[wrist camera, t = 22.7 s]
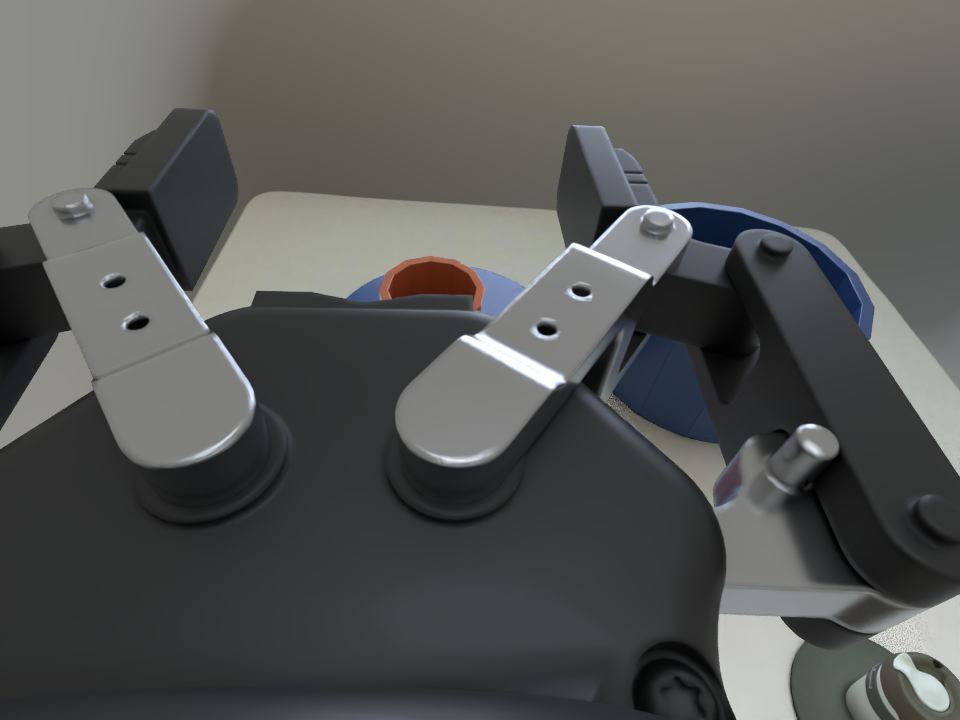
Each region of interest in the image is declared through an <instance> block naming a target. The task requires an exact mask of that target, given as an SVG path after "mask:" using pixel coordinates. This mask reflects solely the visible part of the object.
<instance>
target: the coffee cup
mask: <svg viewBox="0 0 960 720" xmlns="http://www.w3.org/2000/svg"><path fill="white" fill-rule="evenodd" d="M791 692H792V697H793V703H794V707H795V710H796V713H797V716H798V719H799V720H960V682H959V680H958V679H957V678H956V676H955V675H954V674H953V673H952V672H951V671H950V670H949V669H948V668H947V667H946V666H944V665H943V664H942V663H941V662H939V661H938V660H936V659H934V658H932V657H930V656H928V655H925V654H922V653H917V652H905V653H896V654H893V653H891V652H890V651H888V650H887V649H885V648H884V647H882V646H881V645H879V644H877V643H875V642H873V641H871V640H869V639H866V640H864V641H862V642H859V643H857V644H855V645H853V646H851V647H849V648H846V649H844V650H838V651H837V650H826V649H822V648H819V647H816V646H814V645H812V644H810V643H808V642H805V643H804V644H803V645H802V646H801V648H800V649H799V651H798V653H797V655H796V657H795V660H794V662H793V665H792V673H791Z"/></svg>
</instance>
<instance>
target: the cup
mask: <svg viewBox="0 0 960 720" xmlns="http://www.w3.org/2000/svg"><path fill="white" fill-rule="evenodd" d="M418 294H442V295H473V310H477V311H481V312H483V306H484V296H485V287H484V285H483V283H482V281H481V280H480V278H479V276H478V275H477V273H476V271H475V270H473V269H471V268H469V267H467V266H466V265H464V264H462V263H460V262H459V261H457V260H454V259H447V258H441V257H434V256H427V257H422V258H416V259H411V260H406V261H404V262H402V263H401V264H399V265H397V266H396V267H394V268H393V269H391V270H390V271H388V272H387V273H386V275H385V277H384V279H383V282H382V284H381V286H380V289H379V296H380V300H386V299H392V298H399V297H405V296H412V295H418Z"/></svg>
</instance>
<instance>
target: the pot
mask: <svg viewBox="0 0 960 720" xmlns="http://www.w3.org/2000/svg"><path fill="white" fill-rule="evenodd" d="M659 206H660V207H662V208H666V209H669V210H671V211H674V212H676V213H678V214H680V215H681V216H682V217H684V218H685V219H686V220H687V221H688V222H689V223H690V224H691V227H692V230H693V233H692V237H691V238H692V239H694V240H697V241H700V242H704V243H708V244H713V245H717V246H722V247H727V248H732V246H733V244H734V242H735V240H736V238H737V236H738V235H739V234H740V233H742V232H744V231H747V230H752V229H764V230H771V231H775V232H779V233H782V234H784V235H787V236H789V237H791V238H793V239H795V240H796V241H798V242H799V243H801V244H802V245H803V246H804V247H805V248H806V249H807V250H808V251H809V252H810V254H811V255H812V257H813V258H814V260H815V261H816V263H817V264H818V266H819V267H820V269H821V270H822V272H823V273H824V275H825V276H826V278H827V279H828V281H829V282H830V284H831V285H832V287H833V288H834V290H835V291H836V293H837V294H838V296H839V297H840V299H841V300H842V302H843V303H844V305H845V306H846V308H847V309H848V311H849V312H850V314H851V315H852V317H853V318H854V320H855V321H856V323H857V324H858V326H859V327H860V329H861V330H862V332H863V333H864V335H865V336H866V338H867V339H868V341H869V339H870V338H871V331H872V323H873V315H874V308H875V307H874V305H873V304H872V302H871V300H870V298H869V296H868V294H867V292H866V290H865V288H864V286H863V284H862V282H861V281H860V279H859V277H858V275H857V274H856V273H855V272H854V271H853V270H852V269H851V268H850V267H848V266H847V265H846V264H845V263H844V262H843V261H842V260H841V259H840V258H839V257H837V256H836V255H835V254H834V253H833V252H832V251H831V250H830V249H829V248H828V247H827V246H825V245H824V244H822V243H820V242H819V241H817V240H815V239H813V238H812V237H810V236H808V235H806V234H804V233H803V232H801V231H799V230H797V229H795V228H794V227H792V226H790V225H788V224H787V223H784V222H781V221H778V220H776V219H773V218H770V217H767V216H764V215H761V214H758V213H755V212H752V211H749V210H746V209H743V208H737V207H730V206H723V205H716V204H709V203H701V202H690V203H678V204H666V205H659ZM613 393H614V394H615V395H616V396H617V397H618V398H619V399H620V400H621V401H623V402H624V403H625V404H626V405H627V406H629V407H630V408H631V409H632V410H634V411H635V412H637V413H638V414H640V415H641V416H643V417H644V418H646V419H647V420H649V421H651V422H653V423H655V424H657V425H658V426H660V427H663V428H665V429H667V430H670V431H672V432H674V433H677V434H680V435H683V436H686V437H689V438H693V439H697V440H702V441H707V442H714V443H719V442H718V439H717V436H716V433H715V430H714V427H713V425H712V422H711V419H710V416H709V413H708V410H707V407H706V404H705V401H704V398H703V395H702V392H701V389H700V386H699V383H698V380H697V377H696V374H695V371H694V368H693V365H692V362H691V359H690V356H689V353H688V350H687V347H686V343H682V342H678V341H674V340H670V339H666V338H662V337H658V336H654V335H650V337H649V339H648V341H647V342H646V344H645V345H644V346H643V348H642V349H641V351H640V352H639V354H638V355H637V357H636V358H635V359H634V361H633V362H632V364H631V365H630V367H629V368H628V369H627V371H626V372H625V374H624V375H623V377H622V378H621V379H620V381H619V382H618V384H617V385H616V387H615V388H614V390H613Z"/></svg>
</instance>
